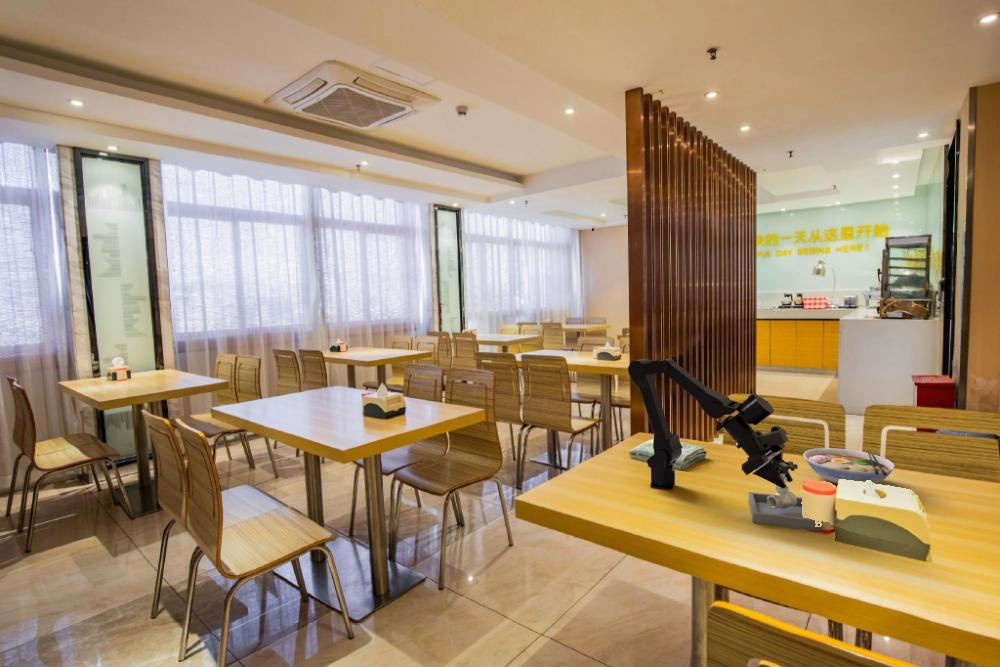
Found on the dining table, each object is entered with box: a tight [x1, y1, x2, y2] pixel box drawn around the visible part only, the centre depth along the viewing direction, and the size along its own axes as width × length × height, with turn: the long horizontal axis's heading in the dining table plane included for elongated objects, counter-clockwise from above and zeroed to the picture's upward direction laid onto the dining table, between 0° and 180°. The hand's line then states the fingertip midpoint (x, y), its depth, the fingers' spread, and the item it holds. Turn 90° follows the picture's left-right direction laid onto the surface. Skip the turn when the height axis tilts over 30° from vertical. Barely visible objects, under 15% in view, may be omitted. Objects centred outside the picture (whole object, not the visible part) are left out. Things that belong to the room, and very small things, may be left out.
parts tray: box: [747, 491, 824, 532], centre depth 133 cm, size 15×15×2 cm
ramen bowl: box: [802, 447, 896, 485], centre depth 153 cm, size 25×23×8 cm
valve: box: [767, 459, 799, 509], centre depth 132 cm, size 7×7×12 cm
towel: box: [628, 437, 708, 470], centre depth 182 cm, size 18×21×5 cm
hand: (788, 484), depth 131 cm, fingers closed on valve, 5 cm apart
